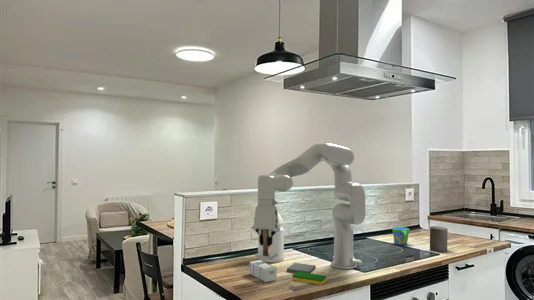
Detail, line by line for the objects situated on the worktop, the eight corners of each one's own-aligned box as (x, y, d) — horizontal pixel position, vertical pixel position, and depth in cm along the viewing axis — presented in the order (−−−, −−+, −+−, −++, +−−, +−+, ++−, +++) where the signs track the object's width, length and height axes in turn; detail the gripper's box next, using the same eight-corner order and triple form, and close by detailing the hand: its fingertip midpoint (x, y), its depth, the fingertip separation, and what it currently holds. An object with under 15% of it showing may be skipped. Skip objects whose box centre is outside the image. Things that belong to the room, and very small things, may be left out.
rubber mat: (315, 268, 178) (315, 265, 178) (308, 274, 168) (308, 271, 168) (294, 265, 183) (294, 262, 183) (286, 271, 173) (286, 268, 173)
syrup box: (266, 269, 157) (249, 260, 169) (266, 283, 157) (248, 273, 169) (277, 267, 161) (259, 259, 173) (276, 280, 161) (259, 271, 173)
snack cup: (413, 247, 224) (413, 230, 225) (396, 246, 225) (396, 230, 225) (404, 241, 240) (404, 226, 240) (388, 241, 240) (388, 225, 241)
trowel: (277, 255, 160) (276, 226, 159) (271, 259, 155) (270, 229, 154) (262, 252, 164) (261, 224, 163) (255, 257, 159) (254, 227, 158)
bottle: (288, 258, 196) (289, 206, 197) (274, 264, 185) (275, 209, 185) (267, 254, 204) (267, 204, 205) (252, 260, 193) (253, 207, 193)
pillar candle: (426, 250, 218) (427, 225, 218) (434, 247, 224) (434, 223, 224) (443, 253, 210) (443, 227, 210) (450, 250, 217) (450, 225, 217)
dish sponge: (298, 276, 168) (298, 271, 168) (326, 281, 161) (326, 275, 161) (292, 280, 161) (292, 275, 161) (321, 286, 155) (321, 280, 155)
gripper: (286, 203, 159) (286, 245, 159) (253, 201, 166) (252, 241, 165) (280, 205, 152) (279, 249, 152) (245, 203, 159) (245, 245, 159)
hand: (265, 244), depth 159 cm, fingers closed on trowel, 3 cm apart
